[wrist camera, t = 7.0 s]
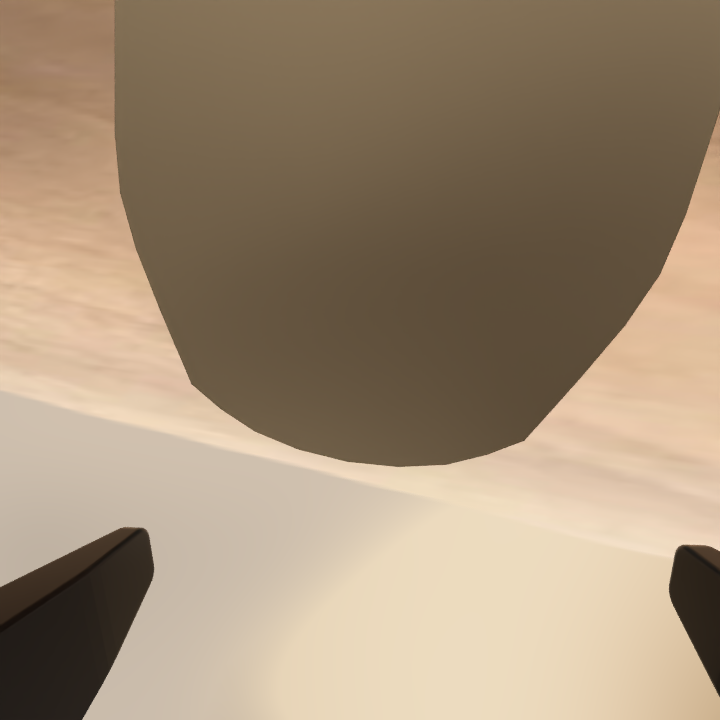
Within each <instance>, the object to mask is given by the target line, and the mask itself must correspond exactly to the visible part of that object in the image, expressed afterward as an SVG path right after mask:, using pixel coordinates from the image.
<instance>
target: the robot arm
mask: <svg viewBox="0 0 720 720" xmlns="http://www.w3.org/2000/svg"><path fill="white" fill-rule="evenodd" d="M153 573H154V563H153V557H152V551H151V545H150V539H149V534H148V532H147V530H146V529H144V528H133V527H123V528H120V529H118V530H116V531H114V532H112V533H109V534H108V535H105V536H103V537H101V538H99V539H97V540H95V541H93V542H91V543H89V544H87V545H85V546H83V547H81V548H79V549H77V550H75V551H73V552H71V553H69V554H67V555H65V556H63V557H61V558H59V559H57V560H55V561H53V562H51V563H48V564H46V565H44V566H43V567H41V568H38V569H36V570H34V571H32V572H30V573H28V574H26V575H24V576H22V577H20V578H18V579H16V580H14V581H12V582H10V583H8V584H6V585H4V586H2V587H0V720H82V719H83V717H84V715H85V714H86V712H87V710H88V708H89V706H90V705H91V703H92V701H93V700H94V698H95V696H96V695H97V693H98V691H99V689H100V688H101V686H102V684H103V682H104V680H105V678H106V677H107V675H108V673H109V671H110V669H111V667H112V665H113V663H114V661H115V659H116V657H117V655H118V653H119V651H120V649H121V647H122V644H123V642H124V640H125V638H126V636H127V633H128V631H129V629H130V627H131V625H132V623H133V620H134V618H135V616H136V614H137V612H138V610H139V608H140V605H141V603H142V601H143V599H144V597H145V595H146V592H147V590H148V588H149V586H150V584H151V581H152V578H153ZM669 593H670V598H671V601H672V604H673V606H674V608H675V610H676V612H677V614H678V616H679V618H680V620H681V622H682V624H683V626H684V628H685V630H686V632H687V634H688V636H689V638H690V640H691V642H692V644H693V645H694V648H695V650H696V651H697V653H698V656H699V658H700V660H701V661H702V663H703V665H704V667H705V669H706V671H707V673H708V675H709V677H710V679H711V681H712V683H713V685H714V687H715V689H716V691H717V693H718V695H719V697H720V551H718V550H716V549H714V548H712V547H710V546H705V545H681V546H679V547H678V548H677V550H676V552H675V557H674V562H673V567H672V573H671V578H670V584H669Z"/></svg>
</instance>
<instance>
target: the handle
mask: <svg viewBox="0 0 720 720" xmlns="http://www.w3.org/2000/svg"><path fill="white" fill-rule="evenodd" d="M719 111H720V0H115V140H116V151H117V162H118V173H119V184H120V194H121V197H122V201H123V204H124V208H125V211H126V215H127V219H128V222H129V226H130V229H131V233H132V236H133V240H134V243H135V247H136V250H137V253H138V255H139V258H140V260H141V263H142V265H143V268H144V270H145V273H146V275H147V278H148V280H149V283H150V285H151V288H152V291H153V293H154V296H155V298H156V301H157V303H158V306H159V308H160V311H161V313H162V315H163V318H164V320H165V323H166V325H167V327H168V330H169V332H170V334H171V337H172V339H173V341H174V344H175V346H176V348H177V351H178V353H179V355H180V358H181V360H182V363H183V365H184V367H185V370H186V372H187V374H188V377H189V379H190V381H191V384H192V385H193V386H194V387H196V388H197V389H198V390H199V391H200V392H202V393H203V394H204V395H205V396H206V397H207V398H209V399H210V400H211V401H212V402H213V403H214V404H216V405H217V406H218V407H219V408H220V409H222V410H223V411H225V412H226V413H228V414H229V415H231V416H232V417H234V418H235V419H237V420H238V421H240V422H241V423H243V424H244V425H246V426H247V427H249V428H250V429H252V430H254V431H255V432H257V433H260V434H262V435H265V436H267V437H269V438H272V439H274V440H277V441H279V442H282V443H284V444H287V445H289V446H291V447H294V448H296V449H299V450H303V451H307V452H311V453H315V454H319V455H323V456H327V457H331V458H335V459H339V460H343V461H347V462H356V463H365V464H375V465H385V466H395V467H405V466H427V465H447V464H451V463H455V462H459V461H463V460H467V459H471V458H475V457H479V456H483V455H487V454H490V453H493V452H495V451H498V450H501V449H503V448H506V447H508V446H511V445H514V444H516V443H519V442H522V441H524V440H525V439H526V438H527V437H528V436H529V435H530V434H531V433H532V431H533V430H534V429H535V428H536V427H537V426H538V425H539V424H540V423H541V421H542V420H543V419H544V418H545V417H546V416H547V415H548V414H549V412H550V411H551V410H552V409H553V408H554V407H555V406H556V405H557V404H558V402H559V401H560V400H561V399H562V398H563V397H564V396H565V395H566V393H567V392H568V391H569V390H570V389H571V388H572V387H573V386H574V385H575V383H576V382H577V381H578V380H579V379H580V378H581V377H582V376H583V374H584V373H585V372H586V371H587V370H588V368H589V367H590V366H591V365H592V364H593V363H594V361H595V360H596V359H597V358H598V357H599V356H600V354H601V353H602V352H603V351H604V350H605V348H606V347H607V346H608V345H609V344H610V343H611V341H612V340H613V339H614V338H615V337H616V336H617V334H618V333H619V332H620V331H621V330H622V328H623V327H624V326H625V325H626V323H627V322H628V320H629V319H630V318H631V316H632V315H633V313H634V312H635V310H636V309H637V307H638V306H639V304H640V303H641V301H642V300H643V298H644V297H645V296H646V294H647V293H648V291H649V290H650V288H651V287H652V285H653V284H654V282H655V281H656V279H657V278H658V277H659V275H660V273H661V271H662V269H663V266H664V264H665V262H666V259H667V257H668V255H669V252H670V250H671V248H672V245H673V243H674V241H675V239H676V236H677V234H678V232H679V229H680V227H681V225H682V222H683V220H684V218H685V215H686V213H687V209H688V206H689V203H690V200H691V197H692V194H693V191H694V188H695V185H696V182H697V179H698V176H699V172H700V169H701V166H702V163H703V160H704V157H705V154H706V151H707V148H708V145H709V142H710V139H711V135H712V132H713V129H714V126H715V123H716V120H717V117H718V114H719Z"/></svg>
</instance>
